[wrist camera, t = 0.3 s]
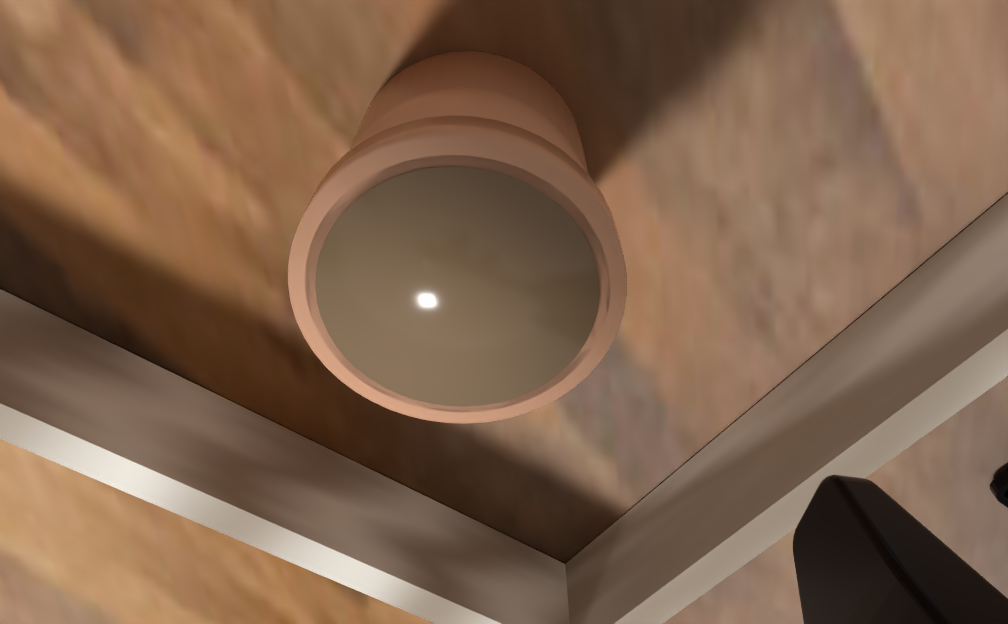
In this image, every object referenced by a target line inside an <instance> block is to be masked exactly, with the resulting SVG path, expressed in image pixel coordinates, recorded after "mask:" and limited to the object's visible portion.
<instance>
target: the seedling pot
mask: <svg viewBox="0 0 1008 624" xmlns="http://www.w3.org/2000/svg"><path fill="white" fill-rule="evenodd" d="M288 286H289V294H290V301H291V305H292V308H293V311H294V315H295V318H296V321H297V323H298V325H299V327H300V330H301V332H302V334H303V336H304V338H305V339H306V341H307V343H308V344H309V346H310V347H311V349H312V350H313V352H314V353H315V354H316V356H317V357H318V358H319V359H320V361H321V362H322V363H323V364H324V365H325V367H326V368H327V369H329V370H330V371H331V372H332V373H333V374H334V375H335V376H336V377H337V378H338V379H339V380H340V381H342V382H343V383H344V384H346V385H347V386H348V387H350V388H351V389H352V390H354V391H355V392H357V393H358V394H360V395H362V396H363V397H365V398H367V399H368V400H370V401H372V402H374V403H376V404H378V405H381V406H383V407H385V408H387V409H389V410H392V411H395V412H398V413H401V414H404V415H407V416H411V417H415V418H419V419H424V420H429V421H436V422H444V423H481V422H490V421H496V420H502V419H507V418H511V417H514V416H518V415H522V414H525V413H527V412H530V411H532V410H535V409H538V408H540V407H542V406H544V405H546V404H548V403H550V402H552V401H554V400H556V399H558V398H559V397H561V396H562V395H564V394H565V393H567V392H568V391H570V390H571V389H573V388H574V387H575V386H576V385H578V384H579V383H580V382H581V381H582V380H583V379H584V378H586V377H587V376H588V375H589V374H590V373H591V371H592V370H593V369H594V368H595V367H596V366H597V365H598V364H599V362H600V361H601V360H602V358H603V357H604V355H605V354H606V352H607V351H608V349H609V348H610V346H611V344H612V342H613V340H614V338H615V336H616V334H617V332H618V330H619V327H620V323H621V320H622V317H623V314H624V309H625V302H626V296H627V274H626V268H625V262H624V256H623V252H622V248H621V244H620V240H619V236H618V232H617V229H616V225H615V222H614V219H613V216H612V213H611V211H610V209H609V207H608V205H607V202H606V200H605V198H604V196H603V194H602V193H601V191H600V190H599V189H598V187H597V186H596V184H595V183H594V181H593V180H592V178H591V177H590V176H589V174H588V170H587V165H586V161H585V156H584V151H583V147H582V142H581V137H580V134H579V131H578V128H577V124H576V121H575V119H574V117H573V115H572V113H571V111H570V109H569V107H568V106H567V104H566V103H565V102H564V100H563V99H562V97H561V96H560V95H559V93H558V92H557V91H556V90H555V89H554V88H553V87H552V86H551V84H549V83H548V82H547V81H546V80H545V79H543V78H542V77H541V76H540V75H539V74H537V73H536V72H534V71H533V70H531V69H529V68H528V67H526V66H525V65H522V64H520V63H518V62H516V61H514V60H512V59H509V58H506V57H503V56H499V55H496V54H491V53H485V52H478V51H458V52H447V53H443V54H439V55H434V56H431V57H428V58H426V59H423V60H420V61H418V62H416V63H414V64H412V65H410V66H409V67H407V68H405V69H403V70H402V71H401V72H399V73H398V74H397V75H395V76H394V77H393V78H391V79H390V80H389V81H388V82H387V83H386V84H385V85H384V86H383V87H382V88H381V90H380V91H379V92H378V94H377V95H376V96H375V98H374V99H373V100H372V102H371V104H370V106H369V107H368V109H367V111H366V113H365V115H364V117H363V120H362V122H361V125H360V127H359V129H358V132H357V134H356V137H355V139H354V141H353V144H352V146H351V148H350V151H349V152H347V153H346V154H345V155H344V156H343V157H342V158H341V159H340V160H339V161H338V162H337V163H336V164H335V165H334V166H333V167H332V168H331V169H330V170H329V172H328V173H327V174H326V176H325V177H324V178H323V180H322V181H321V182H320V184H319V185H318V187H317V189H316V191H315V193H314V195H313V196H312V198H311V200H310V202H309V204H308V207H307V209H306V211H305V213H304V215H303V217H302V219H301V222H300V224H299V226H298V229H297V232H296V234H295V237H294V240H293V243H292V247H291V252H290V258H289V263H288Z"/></svg>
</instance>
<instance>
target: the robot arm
mask: <svg viewBox="0 0 1008 624" xmlns="http://www.w3.org/2000/svg"><path fill="white" fill-rule="evenodd" d="M990 490H991V491H992V493H993V494H994V496H995V497H996V498H997V500H998V501H999V502H1000V503H1002V504H1003V505H1005V506H1006V507H1008V470H1007V471H1005V472H1004V473H1002V474H1001V475H999V476H997V477H996V478H995V479H994V480H993V481H992V482H991V484H990ZM793 555H794V561H795V568H796V574H797V581H798V587H799V594H800V600H801V607H802V613H803V620H804V624H1008V599H1007V598H1006V597H1005V596H1004V595H1003V594H1002V593H1000V592H999V591H998V590H997V589H996V588H995V587H994V586H992V585H991V584H990V583H989V582H988V581H987V580H985V579H984V578H983V577H982V576H981V575H980V574H979V573H977V572H976V571H975V570H974V569H973V568H972V567H971V566H969V565H968V564H967V563H966V562H965V561H964V560H962V559H961V558H960V557H959V556H958V555H957V554H956V553H954V552H953V551H952V550H951V549H950V548H949V547H948V546H946V545H945V544H944V543H943V542H942V541H941V540H939V539H938V538H937V537H936V536H935V535H934V534H933V533H931V532H930V531H929V530H928V529H927V528H926V527H924V526H923V525H922V524H921V523H920V522H919V521H918V520H916V519H915V518H914V517H913V516H912V515H911V514H910V513H908V512H907V511H906V510H905V509H904V508H903V507H901V506H900V505H899V504H898V503H897V502H896V501H895V500H893V499H892V498H891V497H890V496H889V495H888V494H886V493H885V492H884V491H883V490H882V489H881V488H880V487H878V486H877V485H876V484H875V483H873V482H872V481H870V480H867V479H864V478H857V477H849V476H841V475H830V476H827V477H826V478H825V479H823V480H822V481H821V483H820V484H819V486H818V488H817V490H816V492H815V493H814V495H813V497H812V499H811V501H810V503H809V505H808V507H807V508H806V510H805V512H804V514H803V516H802V518H801V520H800V521H799V523H798V525H797V528H796V530H795V534H794V539H793Z"/></svg>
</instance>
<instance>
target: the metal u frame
mask: <svg viewBox="0 0 1008 624" xmlns="http://www.w3.org/2000/svg"><path fill="white" fill-rule="evenodd" d="M1007 376H1008V194H1006V195H1005V196H1004V197H1003V198H1002V199H1000V200H999V201H998V202H997V203H996V204H995V205H993V206H992V207H991V208H990V209H989V210H987V211H986V212H985V213H984V214H983V215H981V216H980V217H979V218H978V219H977V220H975V221H974V222H973V223H972V224H971V225H969V226H968V227H967V228H966V229H965V230H963V231H962V232H961V233H960V234H959V235H957V236H956V237H955V238H954V239H953V240H952V241H950V242H949V243H948V244H947V245H946V246H944V247H943V248H942V249H941V250H940V251H938V252H937V253H936V254H935V255H934V256H932V257H931V258H930V259H929V260H928V261H926V262H925V263H924V264H923V265H922V266H920V267H919V268H918V269H917V270H916V271H915V272H913V273H912V274H911V275H910V276H909V277H907V278H906V279H905V280H904V281H903V282H901V283H900V284H899V285H898V286H897V287H895V288H894V289H893V290H892V291H891V292H889V293H888V294H887V295H886V296H885V297H883V298H882V299H881V300H880V301H879V302H877V303H876V304H875V305H874V306H873V307H872V308H870V309H869V310H868V311H867V312H866V313H864V314H863V315H862V316H861V317H860V318H858V319H857V320H856V321H855V322H854V323H852V324H851V325H850V326H849V327H848V328H846V329H845V330H844V331H843V332H842V333H840V334H839V335H838V336H837V337H836V338H834V339H833V340H832V341H831V342H830V343H829V344H827V345H826V346H825V347H824V348H823V349H821V350H820V351H819V352H818V353H817V354H815V355H814V356H813V357H812V358H811V359H809V360H808V361H807V362H806V363H805V364H803V365H802V366H801V367H800V368H799V369H797V370H796V371H795V372H794V373H793V374H791V375H790V376H789V377H788V378H787V379H786V380H784V381H783V382H782V383H781V384H780V385H778V386H777V387H776V388H775V389H774V390H772V391H771V392H770V393H769V394H768V395H766V396H765V397H764V398H763V399H762V400H760V401H759V402H758V403H757V404H756V405H754V406H753V407H752V408H751V409H750V410H749V411H747V412H746V413H745V414H744V415H743V416H741V417H740V418H739V419H738V420H737V421H735V422H734V423H733V424H732V425H731V426H729V427H728V428H727V429H726V430H725V431H723V432H722V433H721V434H720V435H719V436H717V437H716V438H715V439H714V440H713V441H711V442H710V443H709V444H708V445H707V446H706V447H704V448H703V449H702V450H701V451H700V452H698V453H697V454H696V455H695V456H694V457H692V458H691V459H690V460H689V461H688V462H686V463H685V464H684V465H683V466H682V467H680V468H679V469H678V470H677V471H676V472H674V473H673V474H672V475H671V476H670V477H668V478H667V479H666V480H665V481H664V482H663V483H661V484H660V485H659V486H658V487H657V488H655V489H654V490H653V491H652V492H651V493H649V494H648V495H647V496H646V497H645V498H643V499H642V500H641V501H640V502H639V503H637V504H636V505H635V506H634V507H633V508H631V509H630V510H629V511H628V512H627V513H625V514H624V515H623V516H622V517H621V518H620V519H618V520H617V521H616V522H615V523H614V524H612V525H611V526H610V527H609V528H608V529H606V530H605V531H604V532H603V533H602V534H600V535H599V536H598V537H597V538H596V539H594V540H593V541H592V542H591V543H590V544H588V545H587V546H586V547H585V548H584V549H583V550H581V551H580V552H579V553H578V554H577V555H575V556H574V557H573V558H572V559H571V560H569V561H568V562H567V563H566V564H564V563H562V562H560V561H558V560H556V559H554V558H552V557H550V556H548V555H546V554H544V553H541V552H539V551H537V550H535V549H533V548H531V547H529V546H527V545H525V544H523V543H521V542H519V541H517V540H515V539H513V538H511V537H509V536H507V535H504V534H502V533H500V532H498V531H496V530H494V529H492V528H490V527H488V526H486V525H484V524H482V523H480V522H478V521H476V520H474V519H472V518H470V517H468V516H465V515H463V514H461V513H459V512H457V511H455V510H453V509H451V508H449V507H447V506H445V505H443V504H441V503H439V502H437V501H435V500H433V499H431V498H429V497H426V496H424V495H422V494H420V493H418V492H416V491H414V490H412V489H410V488H408V487H406V486H404V485H402V484H400V483H398V482H396V481H394V480H392V479H389V478H387V477H385V476H383V475H381V474H379V473H377V472H375V471H373V470H371V469H369V468H367V467H365V466H363V465H361V464H359V463H357V462H355V461H353V460H350V459H348V458H346V457H344V456H342V455H340V454H338V453H336V452H334V451H332V450H330V449H328V448H326V447H324V446H322V445H320V444H318V443H316V442H314V441H311V440H309V439H307V438H305V437H303V436H301V435H299V434H297V433H295V432H293V431H291V430H289V429H287V428H285V427H283V426H281V425H279V424H277V423H274V422H272V421H270V420H268V419H266V418H264V417H262V416H260V415H258V414H256V413H254V412H252V411H250V410H248V409H246V408H244V407H242V406H240V405H238V404H235V403H233V402H231V401H229V400H227V399H225V398H223V397H221V396H219V395H217V394H215V393H213V392H211V391H209V390H207V389H205V388H203V387H201V386H199V385H196V384H194V383H192V382H190V381H188V380H186V379H184V378H182V377H180V376H178V375H176V374H174V373H172V372H170V371H168V370H166V369H164V368H162V367H159V366H157V365H155V364H153V363H151V362H149V361H147V360H145V359H143V358H141V357H139V356H137V355H135V354H133V353H131V352H129V351H127V350H125V349H123V348H120V347H118V346H116V345H114V344H112V343H110V342H108V341H106V340H104V339H102V338H100V337H98V336H96V335H94V334H92V333H90V332H88V331H86V330H84V329H81V328H79V327H77V326H75V325H73V324H71V323H69V322H67V321H65V320H63V319H61V318H59V317H57V316H55V315H53V314H51V313H49V312H47V311H44V310H42V309H40V308H38V307H36V306H34V305H32V304H30V303H28V302H26V301H24V300H22V299H20V298H18V297H16V296H14V295H12V294H10V293H8V292H5V291H3V290H1V289H0V439H2V440H4V441H6V442H9V443H11V444H13V445H16V446H18V447H20V448H23V449H25V450H28V451H30V452H32V453H35V454H37V455H39V456H42V457H44V458H46V459H49V460H51V461H53V462H56V463H58V464H61V465H63V466H65V467H68V468H70V469H72V470H75V471H77V472H79V473H82V474H84V475H86V476H89V477H91V478H93V479H96V480H98V481H101V482H103V483H105V484H108V485H110V486H112V487H115V488H117V489H119V490H122V491H124V492H126V493H129V494H131V495H133V496H136V497H138V498H141V499H143V500H145V501H148V502H150V503H152V504H155V505H157V506H159V507H162V508H164V509H166V510H169V511H171V512H174V513H176V514H178V515H181V516H183V517H185V518H188V519H190V520H192V521H195V522H197V523H199V524H202V525H204V526H206V527H209V528H211V529H214V530H216V531H218V532H221V533H223V534H225V535H228V536H230V537H232V538H235V539H237V540H239V541H242V542H244V543H247V544H249V545H251V546H254V547H256V548H258V549H261V550H263V551H265V552H268V553H270V554H272V555H275V556H277V557H279V558H282V559H284V560H287V561H289V562H291V563H294V564H296V565H298V566H301V567H303V568H305V569H308V570H310V571H312V572H315V573H317V574H319V575H322V576H324V577H327V578H329V579H331V580H334V581H336V582H338V583H341V584H343V585H345V586H348V587H350V588H352V589H355V590H357V591H360V592H362V593H364V594H367V595H369V596H371V597H374V598H376V599H378V600H381V601H383V602H385V603H388V604H390V605H392V606H395V607H397V608H400V609H402V610H404V611H407V612H409V613H411V614H414V615H416V616H418V617H421V618H423V619H425V620H428V621H430V622H433V623H435V624H662V623H664V622H665V621H667V620H668V619H669V618H671V617H672V616H674V615H675V614H676V613H678V612H679V611H680V610H682V609H683V608H685V607H686V606H687V605H689V604H690V603H692V602H693V601H694V600H696V599H697V598H699V597H700V596H701V595H703V594H704V593H706V592H707V591H708V590H710V589H711V588H713V587H714V586H715V585H717V584H718V583H720V582H721V581H722V580H724V579H725V578H727V577H728V576H729V575H731V574H732V573H733V572H735V571H736V570H738V569H739V568H740V567H742V566H743V565H745V564H746V563H747V562H749V561H750V560H752V559H753V558H754V557H756V556H757V555H759V554H760V553H761V552H763V551H764V550H766V549H767V548H768V547H770V546H771V545H773V544H774V543H775V542H777V541H778V540H779V539H781V538H782V537H784V536H785V535H786V534H788V533H789V532H791V531H792V530H793V529H795V528H796V527H797V525H798V523H799V521H800V520H801V518H802V516H803V514H804V512H805V510H806V508H807V507H808V505H809V503H810V501H811V499H812V497H813V495H814V493H815V492H816V490H817V488H818V486H819V484H820V483H821V481H822V480H823V479H825V478H826V477H827V476H830V475H841V476H849V477H857V478H864V479H865V478H866V477H867V476H869V475H870V474H872V473H873V472H874V471H876V470H877V469H878V468H880V467H881V466H883V465H884V464H885V463H887V462H888V461H890V460H891V459H892V458H894V457H895V456H897V455H898V454H899V453H901V452H902V451H904V450H905V449H906V448H908V447H909V446H911V445H912V444H913V443H915V442H916V441H918V440H919V439H920V438H922V437H923V436H924V435H926V434H927V433H929V432H930V431H931V430H933V429H934V428H936V427H937V426H938V425H940V424H941V423H943V422H944V421H945V420H947V419H948V418H950V417H951V416H952V415H954V414H955V413H957V412H958V411H959V410H961V409H962V408H964V407H965V406H966V405H968V404H969V403H970V402H972V401H973V400H975V399H976V398H977V397H979V396H980V395H982V394H983V393H984V392H986V391H987V390H989V389H990V388H991V387H993V386H994V385H996V384H997V383H998V382H1000V381H1001V380H1003V379H1004V378H1005V377H1007Z"/></svg>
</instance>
